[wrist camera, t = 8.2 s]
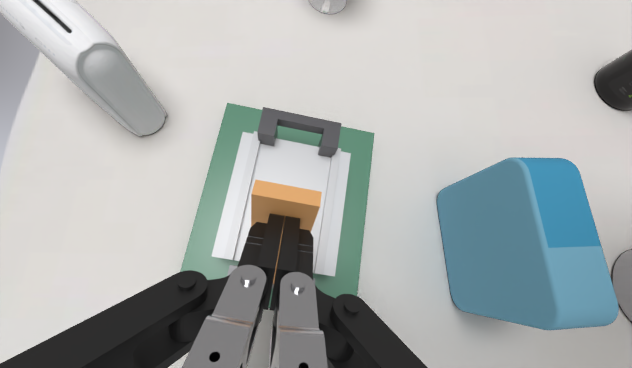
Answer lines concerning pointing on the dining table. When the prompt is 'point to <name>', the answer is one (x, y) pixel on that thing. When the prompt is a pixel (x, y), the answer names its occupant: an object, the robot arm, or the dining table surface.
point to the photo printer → (88, 59)
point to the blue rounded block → (526, 246)
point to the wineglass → (328, 5)
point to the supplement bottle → (616, 82)
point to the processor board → (221, 186)
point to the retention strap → (284, 204)
